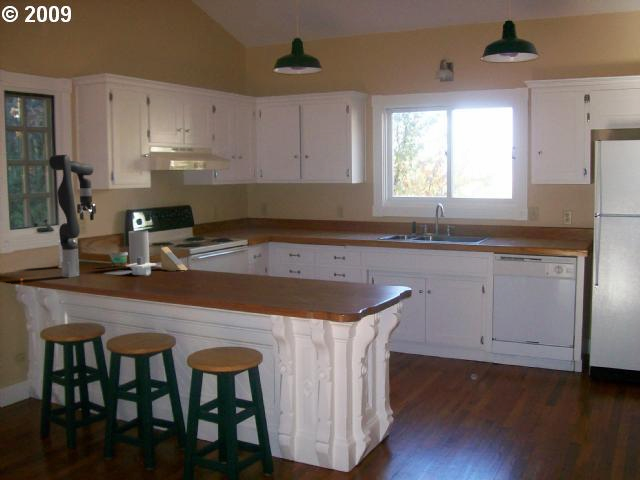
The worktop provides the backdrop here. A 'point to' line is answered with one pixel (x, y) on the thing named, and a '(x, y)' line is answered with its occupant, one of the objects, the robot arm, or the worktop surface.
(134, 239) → the cylinder vase
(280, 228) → the worktop surface
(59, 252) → the decorative container
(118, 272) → the mat
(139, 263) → the lid
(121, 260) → the food container
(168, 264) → the sandwich container
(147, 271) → the pale blue block
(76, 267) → the robot arm
